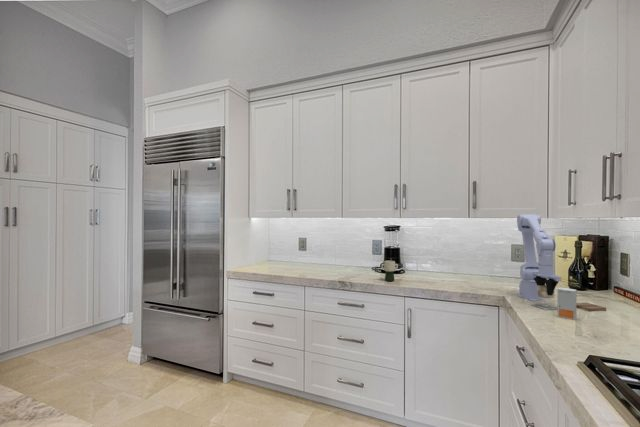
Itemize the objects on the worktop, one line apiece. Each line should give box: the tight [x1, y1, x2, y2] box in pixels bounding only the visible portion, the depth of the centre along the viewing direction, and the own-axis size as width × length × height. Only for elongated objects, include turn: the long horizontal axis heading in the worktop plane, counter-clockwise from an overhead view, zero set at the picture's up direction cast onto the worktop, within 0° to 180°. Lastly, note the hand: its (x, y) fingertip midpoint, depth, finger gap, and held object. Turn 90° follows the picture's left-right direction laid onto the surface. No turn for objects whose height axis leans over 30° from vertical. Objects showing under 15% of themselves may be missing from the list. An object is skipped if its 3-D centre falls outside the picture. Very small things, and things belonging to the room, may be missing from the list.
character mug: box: [380, 260, 399, 282], centre depth 221 cm, size 11×7×13 cm, turn 91°
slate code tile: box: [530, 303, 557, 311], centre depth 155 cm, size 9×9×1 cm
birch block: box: [538, 284, 555, 299], centre depth 156 cm, size 4×5×5 cm
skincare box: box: [556, 287, 578, 320], centre depth 140 cm, size 6×4×12 cm
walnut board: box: [576, 302, 607, 313], centre depth 154 cm, size 9×9×2 cm
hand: (545, 294), depth 156 cm, fingers closed on birch block, 4 cm apart
